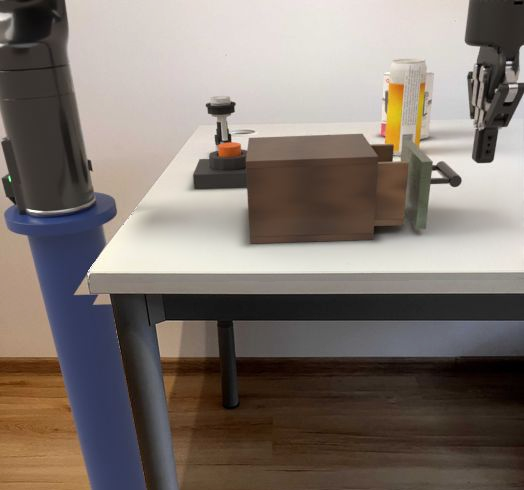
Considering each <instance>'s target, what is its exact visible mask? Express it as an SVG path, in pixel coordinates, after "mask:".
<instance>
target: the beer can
mask: <svg viewBox="0 0 524 490" xmlns="http://www.w3.org/2000/svg"><path fill="white" fill-rule="evenodd" d="M427 71H428V66H427V64H426V59H423V58H398V59H393V60H392V63H391V65H390V67H389V72H390V74H389V89H388V104H387V119H386V134H385V136H384V144H393V145H394V150H393V156H399V157H401V150H402V141H403V140H412V141H413V142H414V143H415V144H416V145H417V146H418V147H419V148H420V145H421V144H420V143H421V139H420V135H421V124H422V114H423V103H424V93H425V83H426V72H427Z"/></svg>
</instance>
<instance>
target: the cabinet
mask: <svg viewBox="0 0 524 490" xmlns="http://www.w3.org/2000/svg"><path fill="white" fill-rule="evenodd" d="M370 144H371V143H370V142H369V141H368V139H367V138H366V137H365V135H364V133H342V134H339V133H337V134H316V135H314V134H313V135H311V134H310V135H291V136H290V135H287V136H262V137H258V136H257V137H248V141H247V149H246V150H247V156H246V176H247V187H246V195H247V213H248V215H247V216H248V232H249V233H248V234H249V245H250V244H251V245H252V244H280V243H308V242H310V243H311V242H313V243H314V242H341V241H342V242H343V241H370V240H371V241H373V240H374V236H375V235H374V232H375V226H374V219H375V203H376V187H377V171H378V155H377V154H376V153H375V151H374V150H373V148H372V147H371V145H370Z"/></svg>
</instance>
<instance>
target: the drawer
mask: <svg viewBox="0 0 524 490" xmlns="http://www.w3.org/2000/svg"><path fill="white" fill-rule="evenodd" d="M369 144H370V145H371V147H372V148H373V150H374V151H375V153H376V154H377V155H378V171H377V187H376V203H375V219H374V227H383V226H384V227H385V226H386V227H387V226H389V227H390V226H404V221H405V215H406V216H407V218H408V219H409V221H410V223H411V224H412V225H413V227H414V229H415V230H425V229H426V228H427V221H428V212H429V211H428V210H429V200H430V192H431V185H446V184H447V185H450V187H452V188H457V187H459V186H461V184H462V181H463V180H462V179H463V178H462V176H461V175H459V174H458V173H457V172H456V171H455V170H454V169H453V168H452V167H451V166H450V165H449V164H448V163H447V162H445V161H443V160H441V161H438V162H437V163H436V164H434V162H433V160H432V159H431V158H430V157H429V156H428V155H427V154H426V153H425V152H424V151H423V150H422V149H421V148H420V146H419V147H418V146H417V145H416V144H415V143H414V142H413V141H412V140H403V141H402V150H401V156H400V160H399V161H398V160H396V161H394V160H393V159H394V155H393V150H394V145H393V144H385V143H374V144H373V143H369ZM433 172H437V173H438V174H439V175H440V176H441V177H432V174H433Z"/></svg>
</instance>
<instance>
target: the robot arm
mask: <svg viewBox="0 0 524 490" xmlns="http://www.w3.org/2000/svg"><path fill="white" fill-rule="evenodd" d="M69 38H70V23H69V17H68V10H67V3H66V0H0V117H1V122H2V125H3V129H4V133H5V136H3V137H2V138H1V139H0V145H1V149H2V153H3V156H4V161H5V164H6V169H7V174H5V175H4V176H2V177H1V184H2V186H3V191H4V194H5V198H8V200H10V202H12V204H13V205H14V204H15V205H17V208H18V212H19V215H29V216H33V217H41V218H53V217H63V216H69V215H74V214H78V213H81V212H84V211H86V210H89V209H91V208H92V207H94V206H95V205H96V198H95V195H94V192H95V191H94V186H93V182H92V176H91V172H94V170H93V163H92V159H91V160H90V159H88V154H87V148H86V143H85V142H86V141H85V138H84V132H83V127H82V122H81V116H80V110H79V104H78V100H77V95H76V88H75V84H74V83H75V82H74V78H73V73H72V67H71V64H70V57H69ZM464 43H465V44H466V45H467V46H470V47H479V49H478V54H477V57H476V63H474V64H473V69H472V71H468V73H467V75H466V80H467V81H466V82H467V90H468V91H467V93H468V104H469V105H468V106H469V107H468V108H469V118H470V120H473V127H474V129H475V131H474V138H473V146H472V151H471V159H472V160H473V162H475V163H477V164H490V163H492V162H494V160H495V154H496V149H497V142H498V135H499V131H501V130H502V129H503V128H508V126H509V124H510V123H511V121H512V119H513V116H514V114H515V112H516V111H517V108H518V107H519V104H520V102H521V100H522V98H523V96H524V82H518V81H519V76H520V71H521V65H520V50H521V48H522V46H524V0H468V7H467V16H466V23H465V32H464Z"/></svg>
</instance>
